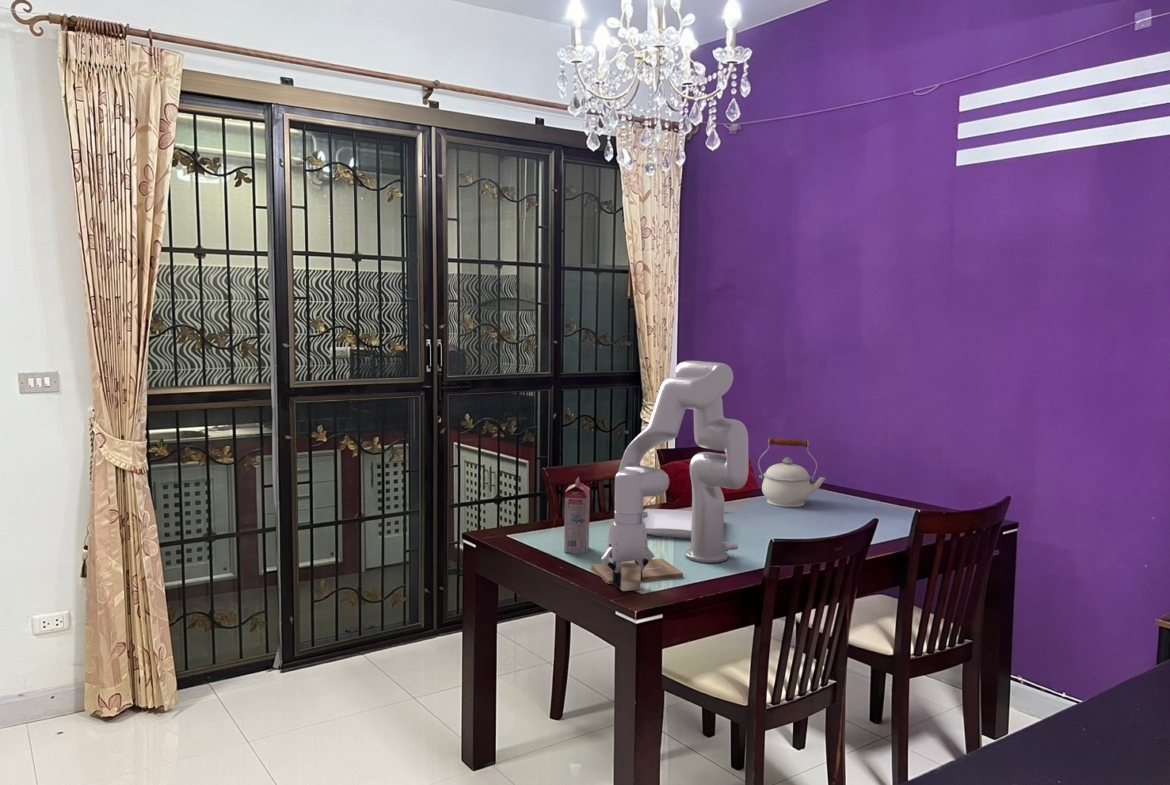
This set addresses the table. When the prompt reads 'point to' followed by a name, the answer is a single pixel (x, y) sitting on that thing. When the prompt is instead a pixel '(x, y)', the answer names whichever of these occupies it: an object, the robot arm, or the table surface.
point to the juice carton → (576, 518)
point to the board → (652, 571)
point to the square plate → (668, 523)
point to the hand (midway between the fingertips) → (627, 584)
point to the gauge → (630, 576)
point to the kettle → (788, 479)
